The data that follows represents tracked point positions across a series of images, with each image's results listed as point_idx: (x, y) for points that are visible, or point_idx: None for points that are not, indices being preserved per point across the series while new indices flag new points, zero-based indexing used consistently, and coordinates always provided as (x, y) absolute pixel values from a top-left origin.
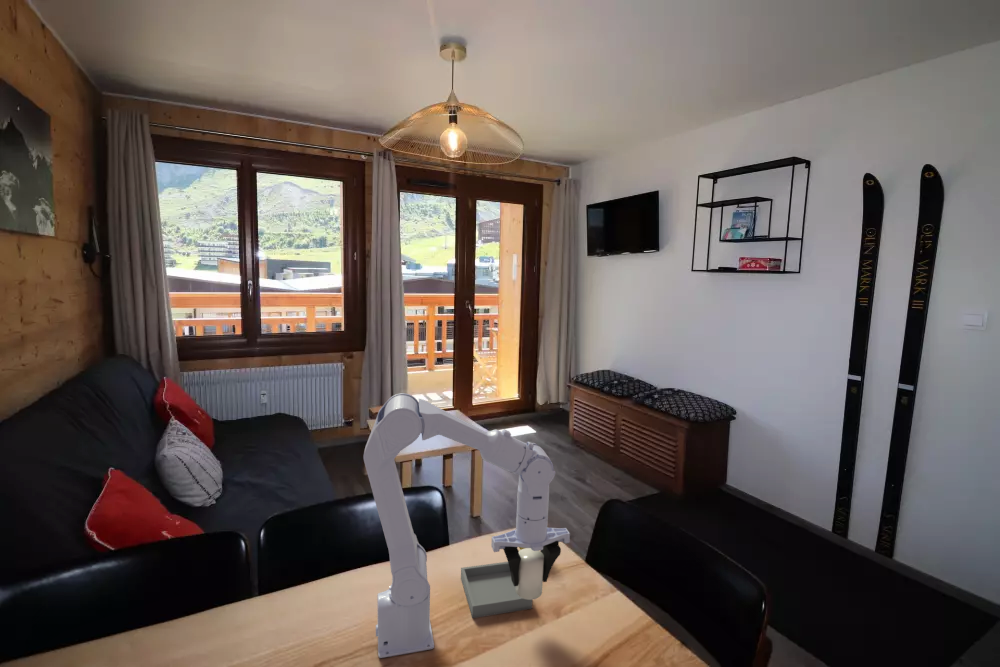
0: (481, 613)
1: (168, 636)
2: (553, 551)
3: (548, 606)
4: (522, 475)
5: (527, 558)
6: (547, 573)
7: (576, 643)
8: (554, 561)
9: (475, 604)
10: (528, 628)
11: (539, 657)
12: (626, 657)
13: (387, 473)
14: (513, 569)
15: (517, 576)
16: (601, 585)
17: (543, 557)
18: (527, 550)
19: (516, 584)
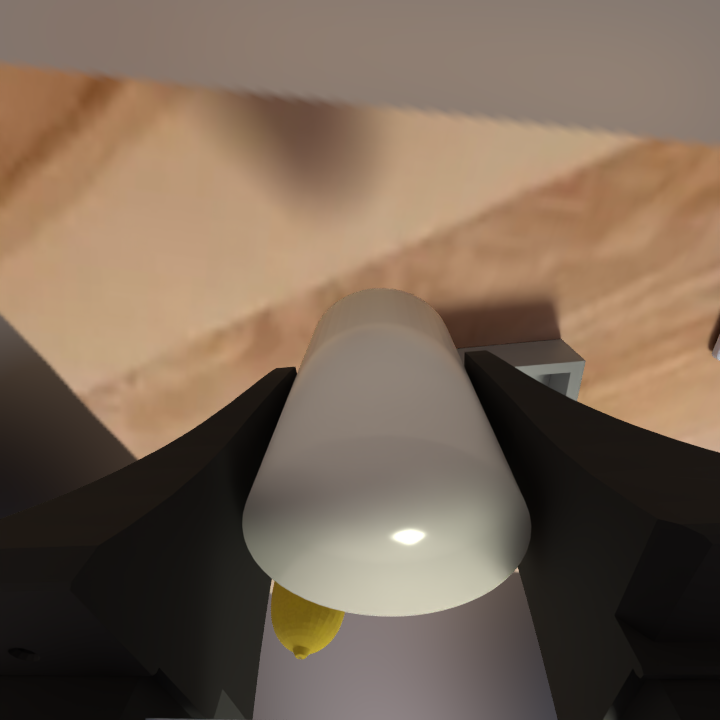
0: (533, 347)
1: None
2: (6, 596)
3: (291, 361)
4: None
5: (425, 519)
6: (253, 394)
7: (211, 177)
8: (139, 460)
9: (571, 368)
10: (379, 273)
11: (369, 112)
12: (7, 70)
13: None
14: (595, 413)
15: (503, 379)
16: (115, 423)
17: (247, 514)
18: (390, 597)
19: (480, 353)
